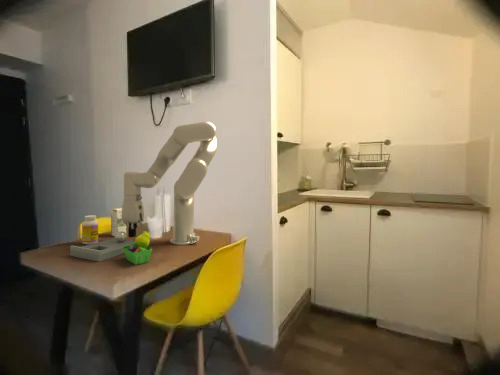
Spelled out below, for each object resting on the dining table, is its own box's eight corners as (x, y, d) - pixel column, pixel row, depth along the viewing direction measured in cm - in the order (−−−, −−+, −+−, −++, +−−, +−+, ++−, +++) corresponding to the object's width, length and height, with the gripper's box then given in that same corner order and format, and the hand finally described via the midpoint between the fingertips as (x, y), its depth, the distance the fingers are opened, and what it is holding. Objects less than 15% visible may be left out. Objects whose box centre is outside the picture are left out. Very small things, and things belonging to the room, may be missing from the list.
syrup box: (121, 233, 154) (121, 207, 153) (127, 235, 150) (127, 208, 149) (111, 235, 149) (110, 208, 148) (117, 237, 146) (116, 209, 145)
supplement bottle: (91, 245, 130) (90, 217, 129) (78, 244, 131) (78, 216, 131) (101, 241, 137) (101, 215, 136) (89, 240, 138) (89, 214, 137)
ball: (128, 241, 129) (128, 230, 129) (120, 243, 125) (120, 233, 125) (120, 240, 131) (120, 229, 131) (112, 242, 127) (112, 231, 126)
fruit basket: (121, 259, 112) (121, 231, 112) (143, 254, 119) (143, 228, 118) (133, 266, 104) (133, 236, 104) (156, 261, 111) (156, 233, 110)
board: (141, 247, 129) (141, 238, 129) (99, 261, 109) (98, 251, 108) (114, 243, 135) (114, 234, 135) (70, 255, 115) (70, 246, 114)
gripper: (150, 198, 134) (150, 237, 135) (126, 196, 140) (126, 233, 141) (138, 200, 127) (138, 240, 128) (114, 197, 133) (114, 236, 134)
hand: (132, 236), depth 134 cm, fingers closed
